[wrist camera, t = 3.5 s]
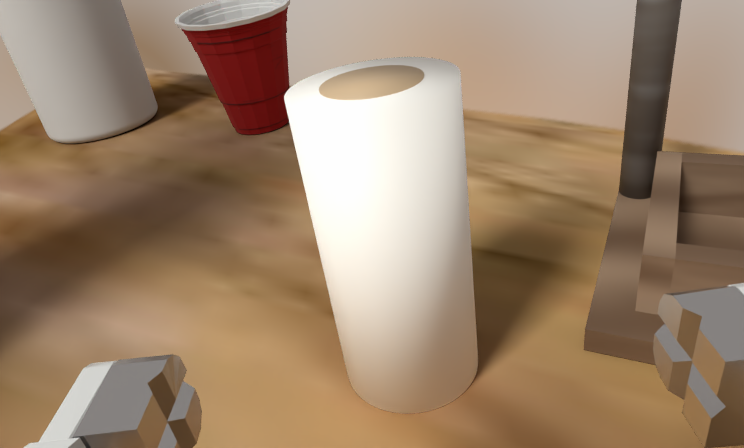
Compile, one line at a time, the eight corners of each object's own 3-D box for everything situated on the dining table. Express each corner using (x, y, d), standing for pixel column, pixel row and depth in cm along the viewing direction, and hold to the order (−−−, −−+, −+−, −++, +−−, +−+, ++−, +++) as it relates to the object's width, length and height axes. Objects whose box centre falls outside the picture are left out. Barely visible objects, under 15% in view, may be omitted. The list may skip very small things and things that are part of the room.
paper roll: (452, 431, 22) (419, 115, 15) (323, 391, 24) (247, 109, 18) (494, 331, 26) (483, 54, 19) (381, 307, 29) (338, 57, 22)
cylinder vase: (178, 113, 65) (95, -135, 52) (74, 153, 58) (-52, -124, 45) (132, 101, 73) (50, -117, 60) (35, 135, 66) (-81, -105, 53)
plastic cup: (201, 153, 52) (158, 23, 46) (219, 116, 62) (186, 4, 56) (313, 135, 52) (285, 2, 46) (314, 101, 62) (291, -13, 56)
